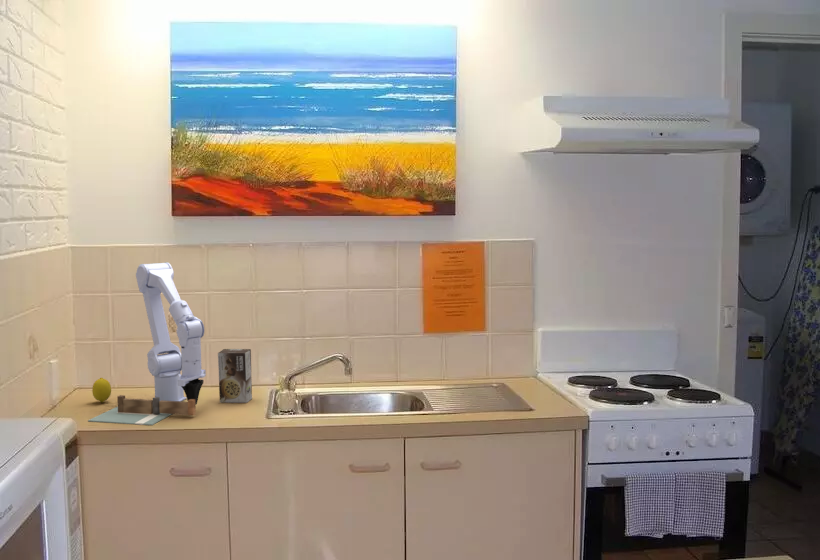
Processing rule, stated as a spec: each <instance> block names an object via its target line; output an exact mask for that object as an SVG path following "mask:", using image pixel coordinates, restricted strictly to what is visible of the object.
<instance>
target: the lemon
mask: <svg viewBox="0 0 820 560" xmlns="http://www.w3.org/2000/svg"><path fill="white" fill-rule="evenodd" d="M91 392H92V396H93V398H94V399H95V400H97V401H99V402H100V403H105V401H106V400H108V399H109V398H110V397H111V394H112V385H111V382H109V381H108V380H107V379H106V378H103V377H100V378H98V379H96V380H95V381H94V382H93V385H92V390H91Z"/></svg>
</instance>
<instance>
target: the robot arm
mask: <svg viewBox="0 0 820 560" xmlns="http://www.w3.org/2000/svg"><path fill="white" fill-rule="evenodd" d="M174 273H175V272H174V269H173V266H172V265H171V263H170V262H168V261H167V262H160V263H159V262H158V263H157V262H156V263H141V264H139V265H138V267H137V268H136V272H135V277H136V278H135V279H136V282H137V287H138V291H139V292H140V293H141V294H142V296H143V302H144V307H145V311H146V315H147V319H148V324H149V330H150V333H151V337H152V338H151V339H152V342H153V346H152V347H151V349H149V351H148V352H147V355H146V356H147V369H148V371H149V373H150V375H152V376H153V378H154V397H159V398H160V401H161V400H164V401H182V402H184V401H185V400H186V399H187V401H186V402H188V400H190V399H195V405H197V404H198V400H199V395H200V392H201V389H202V386H203V384H204V379H203V378H205V377H206V369H202V344H201V343H202V342H201V341H202V339H203V337H204V334H205V326H204V323H203V321H202V320H201V319H200V318H198V317H197V316H194V314H193V311H192V310H191V308H190V306H189V304H188V302H187V301H186V300H184V299H182V298H181V297H180V294H179V292H178V290H177V287H176V284H175V282H174V276H175V274H174ZM161 293H162V294H163V296H164V297H165V299H166V300H167V302H168V304H169V305H170V306H169V308H168V311H169V313H170V315H171V317H172V319H173V321H174V323H175V324H176V327H177V328H176V336H177V338H178V344H179V346H180V347H179V346H178V345H177V344H174V343H173V342H172V341H171V338H170V337H171V336H170V332H169V329H168V324H167V323H168V322H167V319H166V315H165V314H166V313H165V309H164V305H163V300H162V297H161V295H162V294H161ZM200 378H201V379H200ZM184 394H185V395H184Z"/></svg>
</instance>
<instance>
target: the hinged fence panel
mask: <svg viewBox="0 0 820 560" xmlns="http://www.w3.org/2000/svg"><path fill="white" fill-rule="evenodd" d="M196 405H197V404H196ZM196 405H195V399H190V400H188V401H164V400H161V401H159V410H160V413H163V414H172V415H182V416H183V415H185V416H195V415H196V411H197V410H196V408H197V407H196Z"/></svg>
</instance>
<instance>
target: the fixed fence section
mask: <svg viewBox="0 0 820 560" xmlns="http://www.w3.org/2000/svg"><path fill="white" fill-rule="evenodd" d="M116 398H117V399H116V400H117V407H118V412H120V413H123V412H124V413H141V414H154V415H159V414H160V410H159V401H160V398H159V397H155V396H154V397H152V399H145V398H126V395H124V394H123V395H122V394H119V395H118V396H117V397H116Z"/></svg>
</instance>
